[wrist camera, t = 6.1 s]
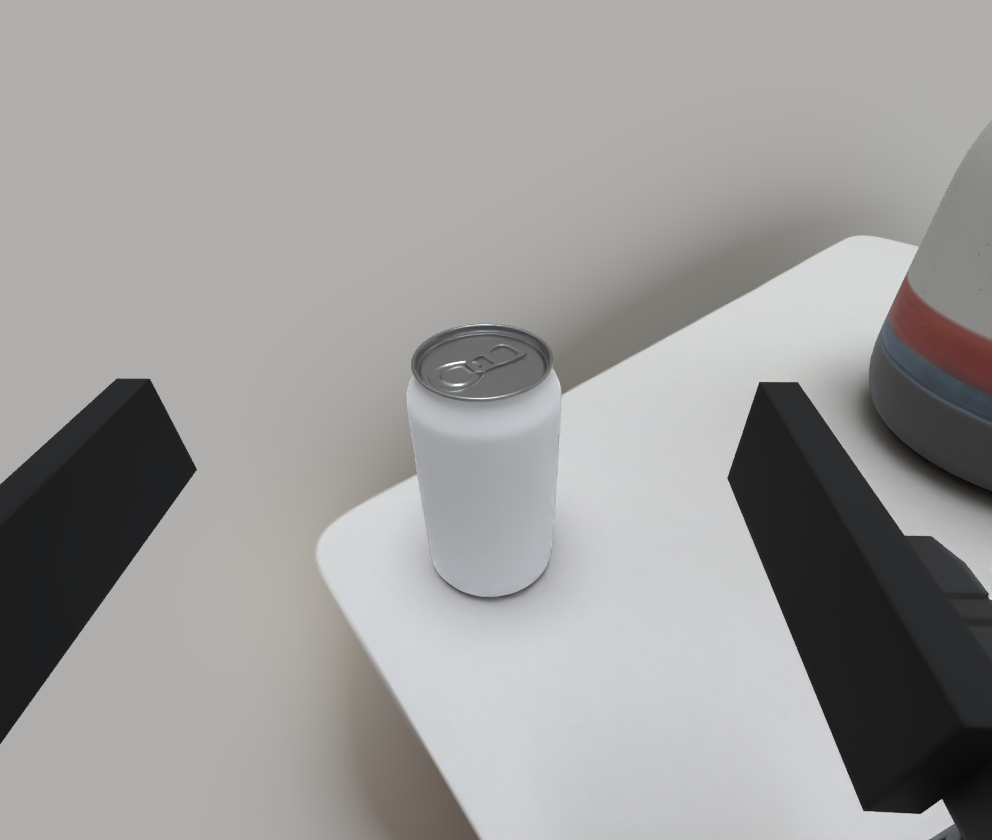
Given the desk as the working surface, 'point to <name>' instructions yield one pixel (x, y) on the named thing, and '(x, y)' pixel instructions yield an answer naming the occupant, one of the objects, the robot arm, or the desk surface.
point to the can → (486, 454)
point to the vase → (945, 332)
